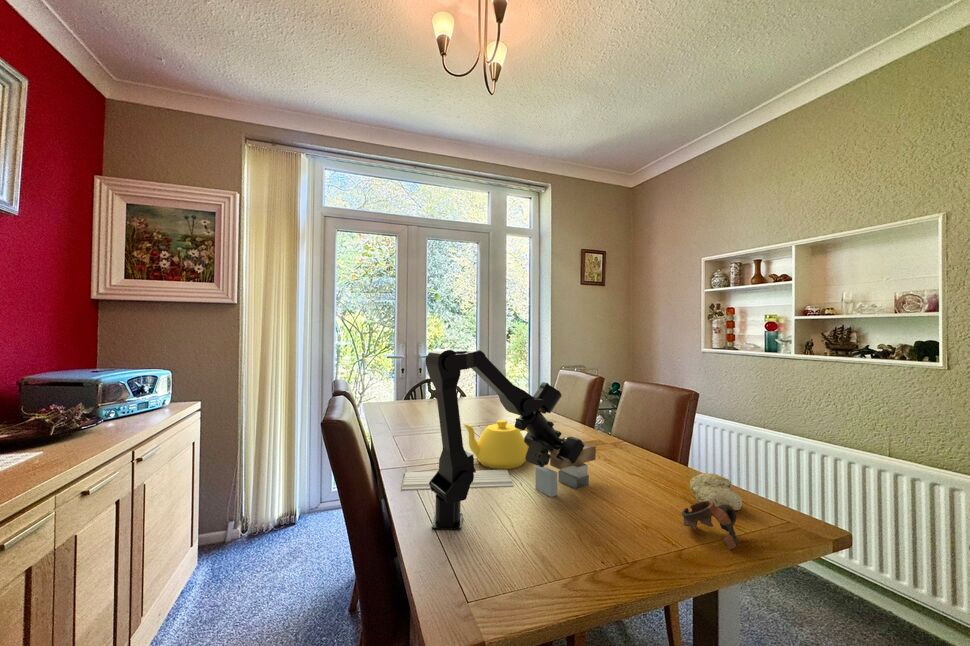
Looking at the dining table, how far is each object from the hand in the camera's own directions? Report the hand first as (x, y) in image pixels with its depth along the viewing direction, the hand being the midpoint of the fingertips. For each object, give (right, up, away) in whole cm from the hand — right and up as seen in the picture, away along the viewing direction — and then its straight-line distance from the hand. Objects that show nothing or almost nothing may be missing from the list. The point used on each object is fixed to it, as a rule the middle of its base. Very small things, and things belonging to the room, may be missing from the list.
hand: (567, 460), depth 105 cm
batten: (+2, -1, +1) cm, 3 cm away
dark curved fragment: (+26, -7, -26) cm, 37 cm away
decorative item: (+36, -8, -10) cm, 38 cm away
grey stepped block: (+2, -7, +1) cm, 8 cm away
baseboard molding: (-32, -8, +2) cm, 32 cm away
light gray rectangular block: (-7, -7, -5) cm, 11 cm away
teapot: (-19, -8, +19) cm, 28 cm away
